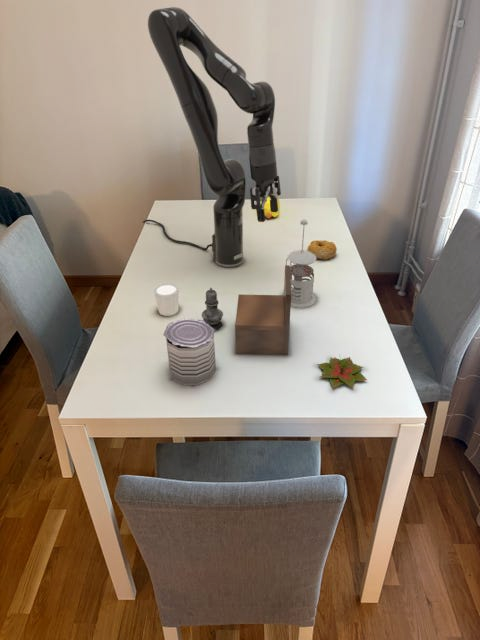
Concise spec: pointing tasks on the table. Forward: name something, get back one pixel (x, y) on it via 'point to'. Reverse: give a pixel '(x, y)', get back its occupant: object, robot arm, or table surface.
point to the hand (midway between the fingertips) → (268, 216)
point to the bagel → (322, 249)
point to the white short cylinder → (167, 299)
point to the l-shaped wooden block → (264, 322)
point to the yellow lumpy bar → (268, 209)
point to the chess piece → (212, 310)
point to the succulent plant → (341, 371)
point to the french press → (302, 289)
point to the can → (190, 351)
